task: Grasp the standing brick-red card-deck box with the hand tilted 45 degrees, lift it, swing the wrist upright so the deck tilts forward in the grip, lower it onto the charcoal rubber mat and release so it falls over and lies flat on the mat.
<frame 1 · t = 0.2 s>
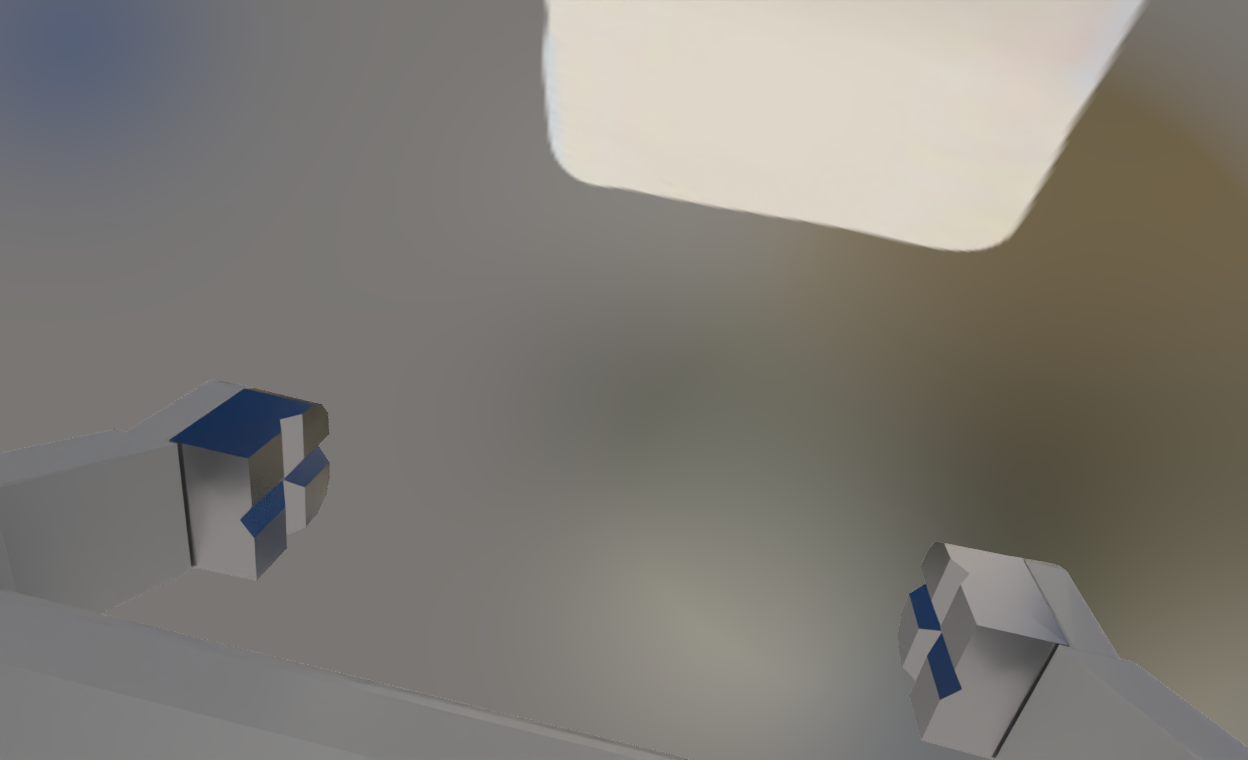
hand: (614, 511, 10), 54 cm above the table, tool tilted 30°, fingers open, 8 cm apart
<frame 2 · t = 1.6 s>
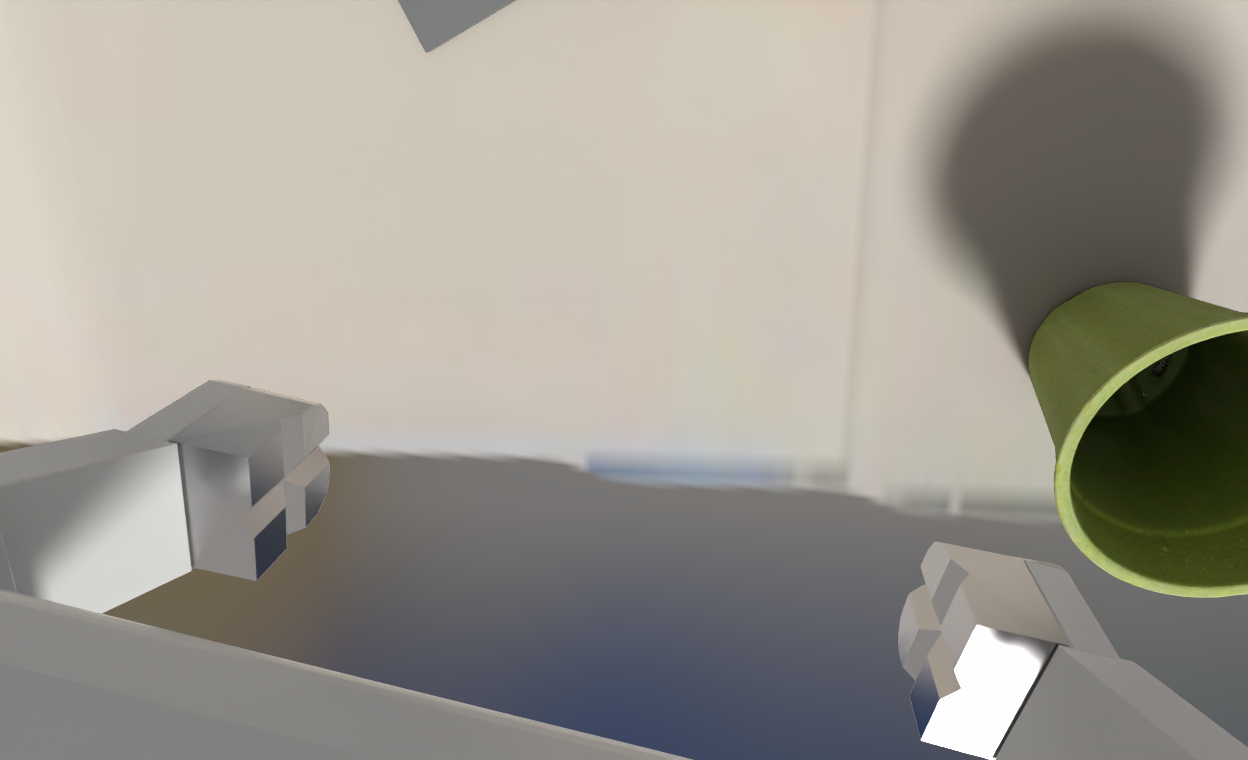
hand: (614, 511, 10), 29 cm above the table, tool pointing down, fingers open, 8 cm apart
plant pot: (1100, 350, 37), on the table
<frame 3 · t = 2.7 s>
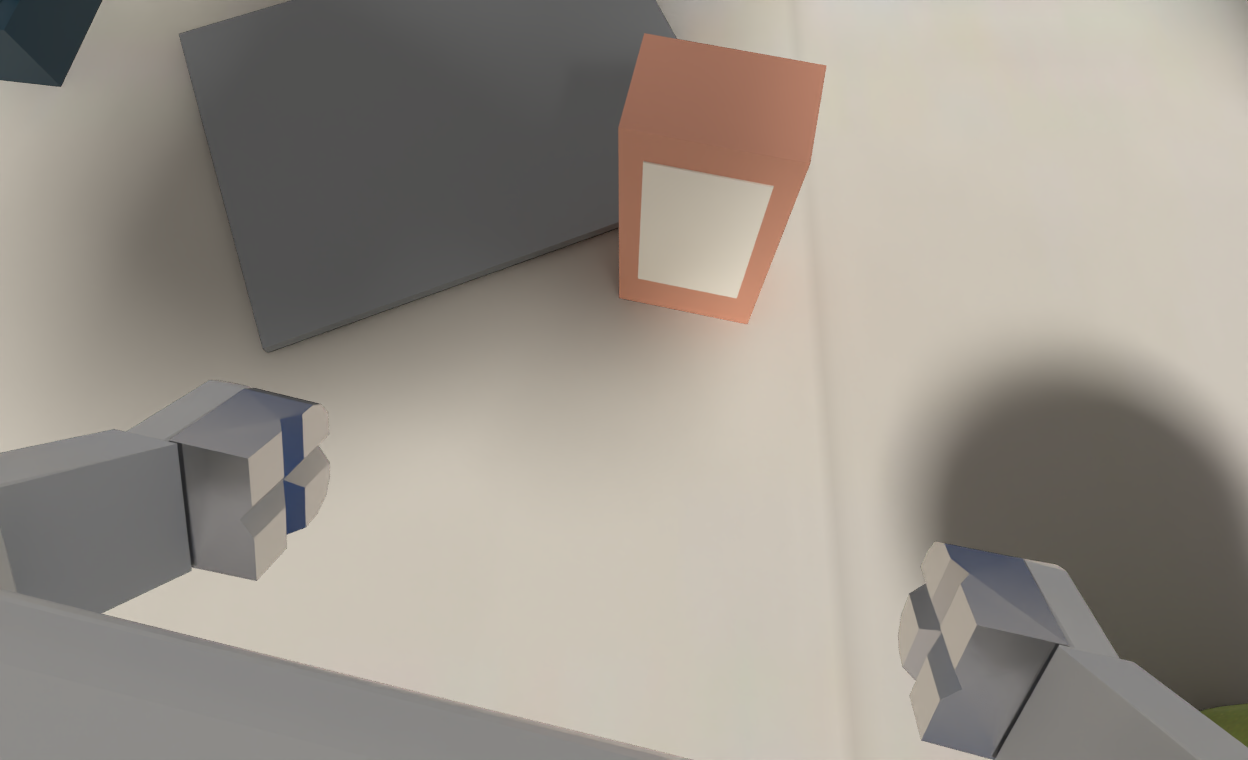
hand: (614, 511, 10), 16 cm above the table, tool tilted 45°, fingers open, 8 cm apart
deck: (690, 274, 29), on the table
watch: (38, 35, 33), on the table
mat: (456, 108, 32), on the table
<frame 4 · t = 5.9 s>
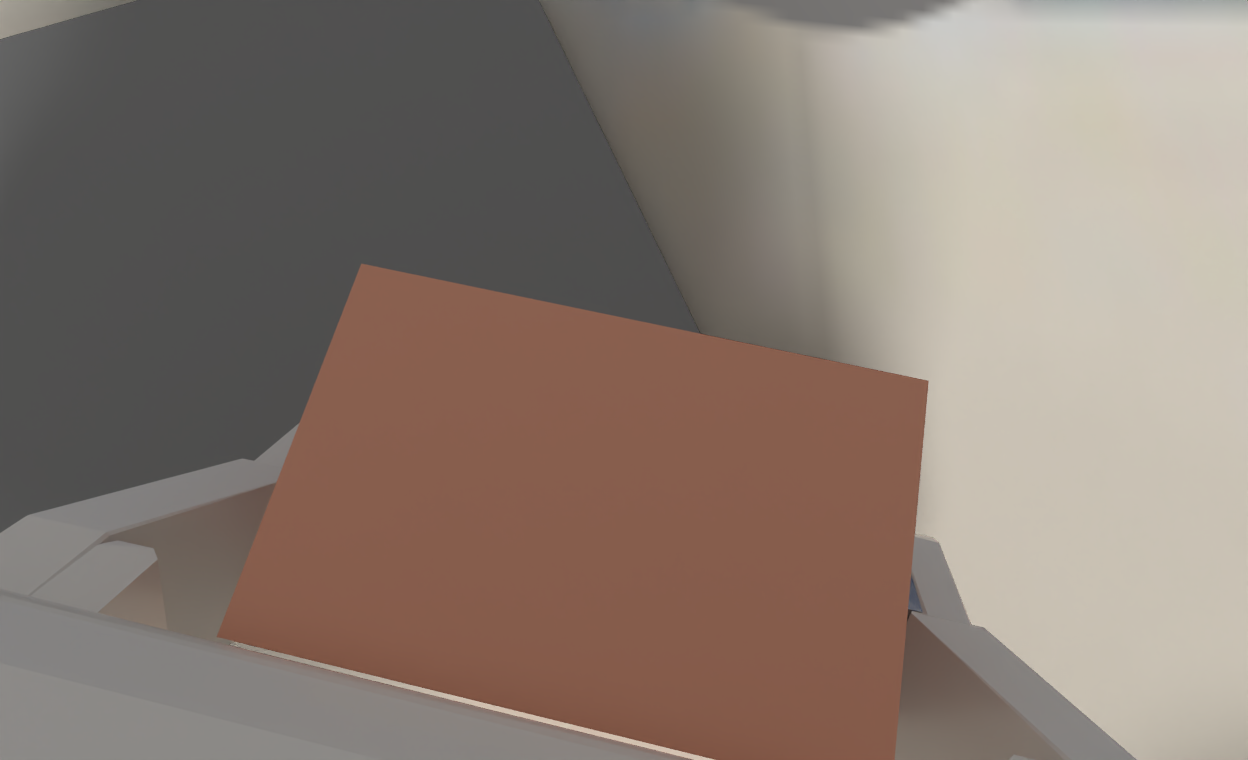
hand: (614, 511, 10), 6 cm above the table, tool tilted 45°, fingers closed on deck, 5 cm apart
deck: (609, 591, 15), on the table, touching gripper
mat: (206, 251, 18), on the table
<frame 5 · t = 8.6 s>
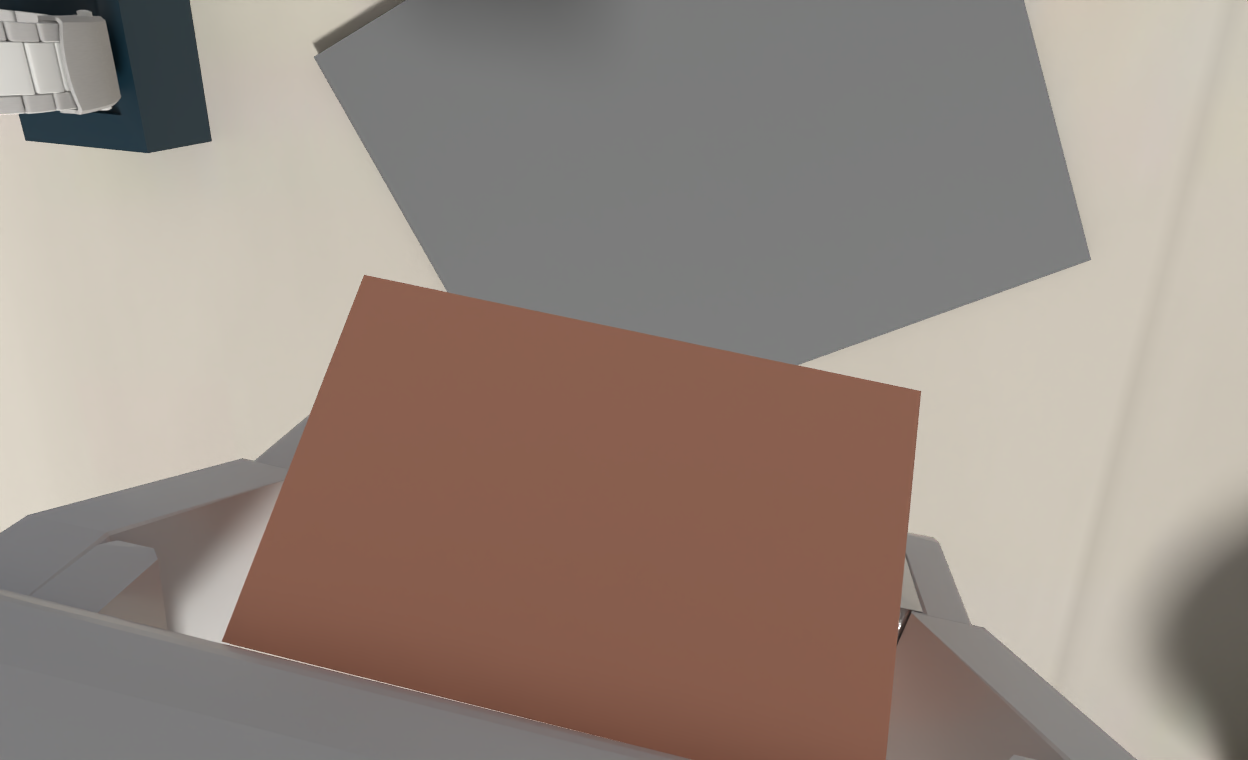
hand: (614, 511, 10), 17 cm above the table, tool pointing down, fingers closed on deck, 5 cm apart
deck: (610, 595, 15), point 13 cm above the table, tilted 45°, touching gripper
watch: (142, 52, 26), on the table
mat: (694, 154, 24), on the table
when the fingers open (6 cm above the table, at t = 10.6 s): deck moves 1 cm and tips over, resting on mat.
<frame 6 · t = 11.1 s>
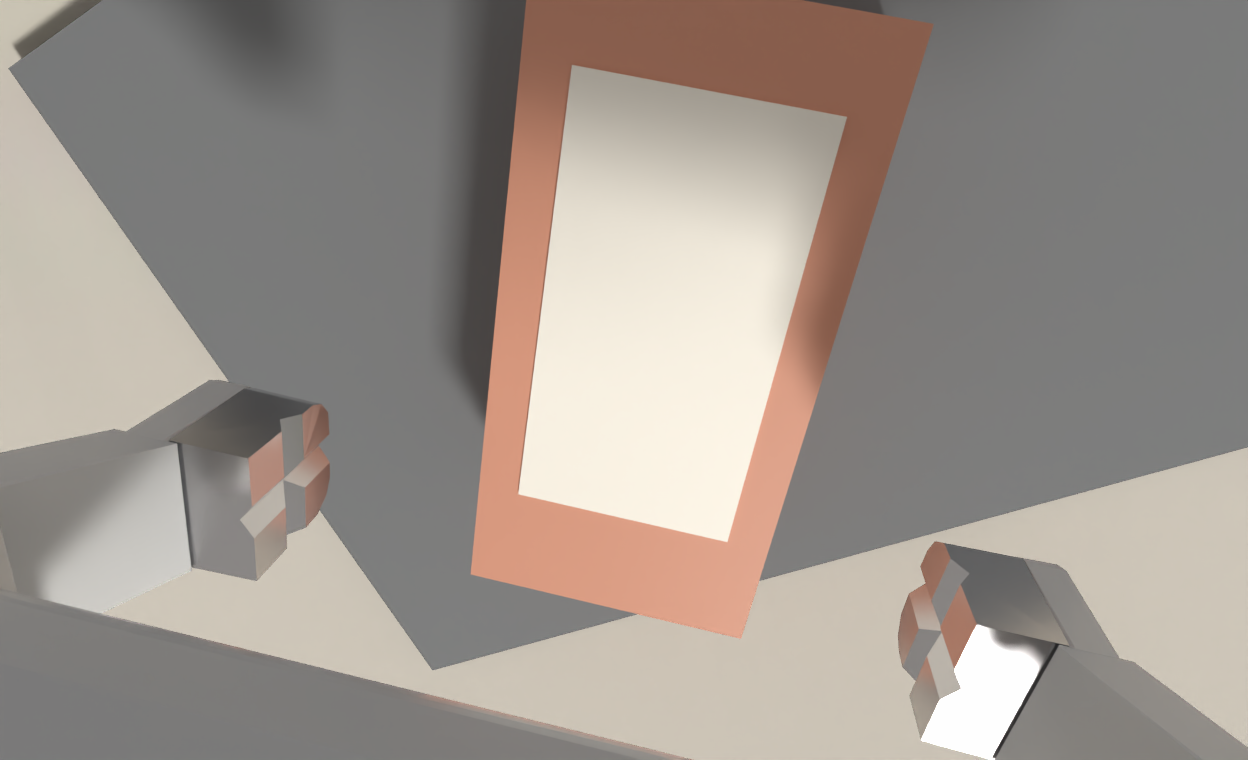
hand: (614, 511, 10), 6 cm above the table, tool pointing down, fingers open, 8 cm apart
deck: (618, 551, 15), point 2 cm above the table, tilted 90°, touching mat
mat: (652, 233, 14), on the table
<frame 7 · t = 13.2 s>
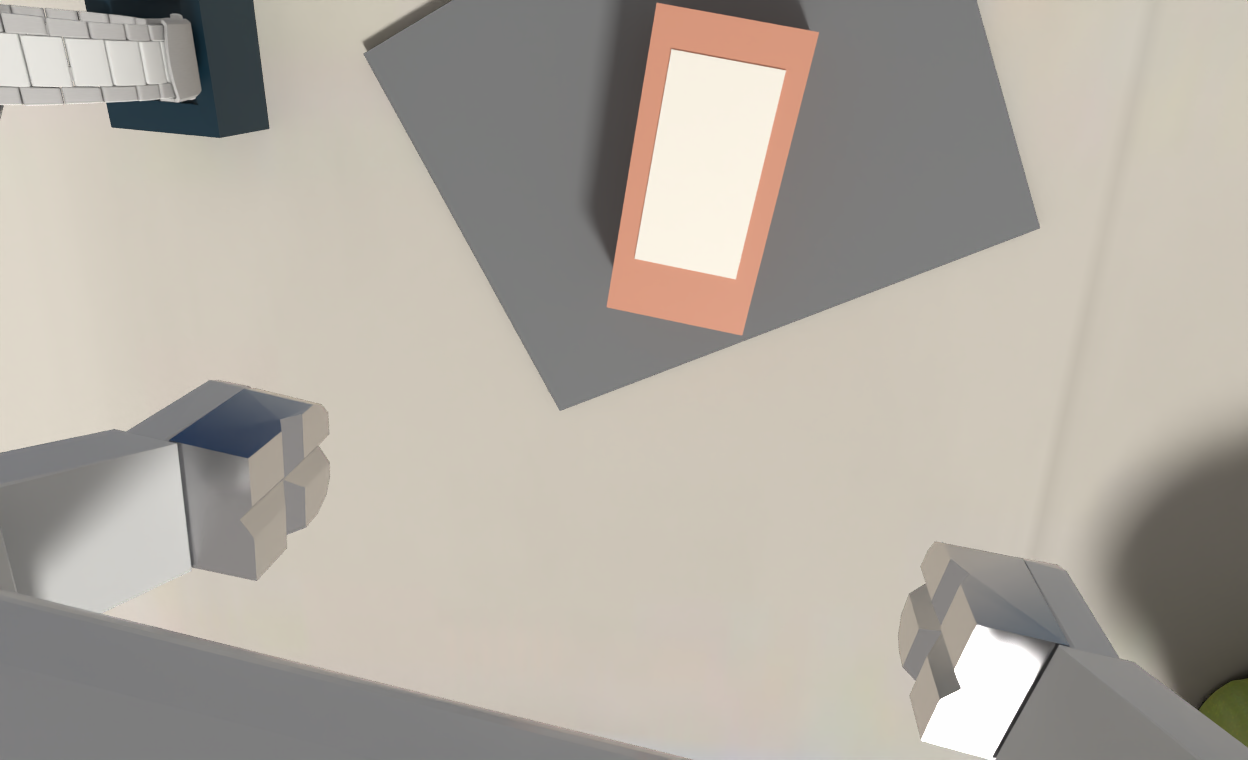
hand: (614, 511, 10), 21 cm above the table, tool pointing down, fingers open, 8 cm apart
deck: (677, 307, 28), point 2 cm above the table, tilted 90°, touching mat
watch: (209, 50, 29), on the table
mat: (696, 138, 28), on the table
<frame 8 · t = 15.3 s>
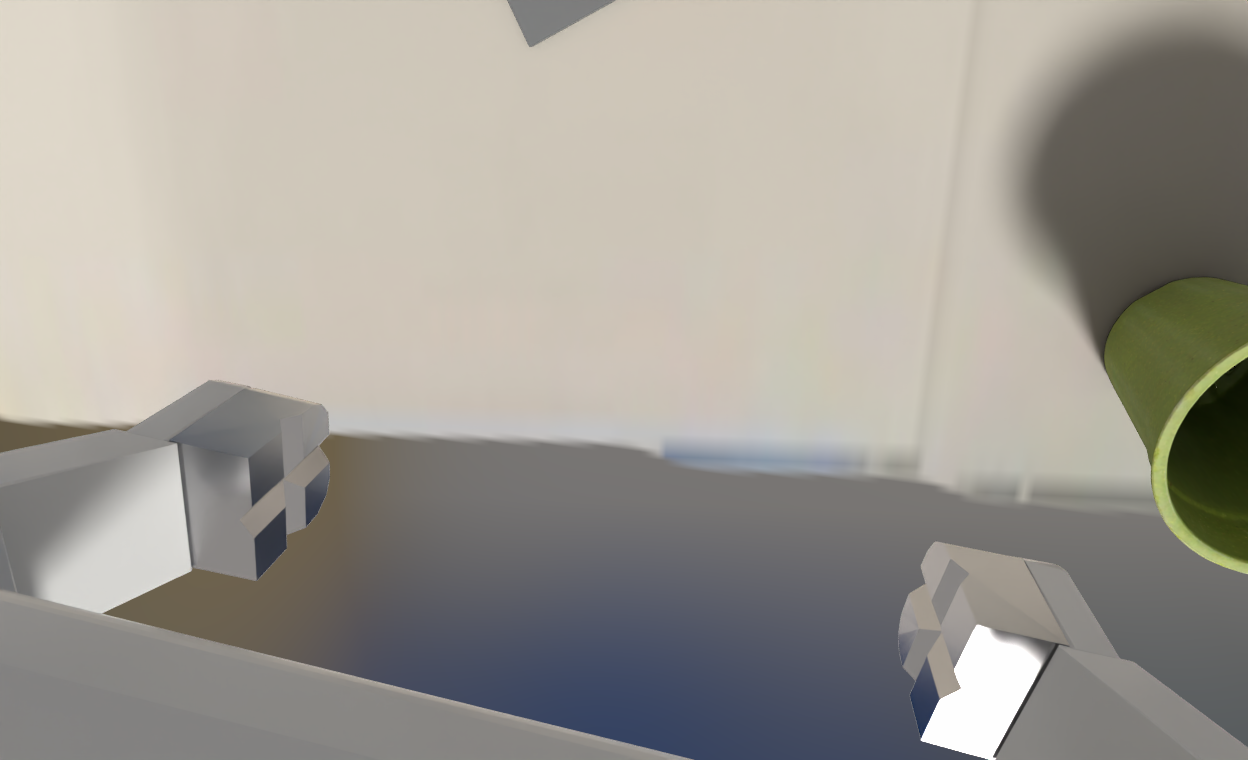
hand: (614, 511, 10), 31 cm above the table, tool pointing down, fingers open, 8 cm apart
plant pot: (1174, 344, 38), on the table
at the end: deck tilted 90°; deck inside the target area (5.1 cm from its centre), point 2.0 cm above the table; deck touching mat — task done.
